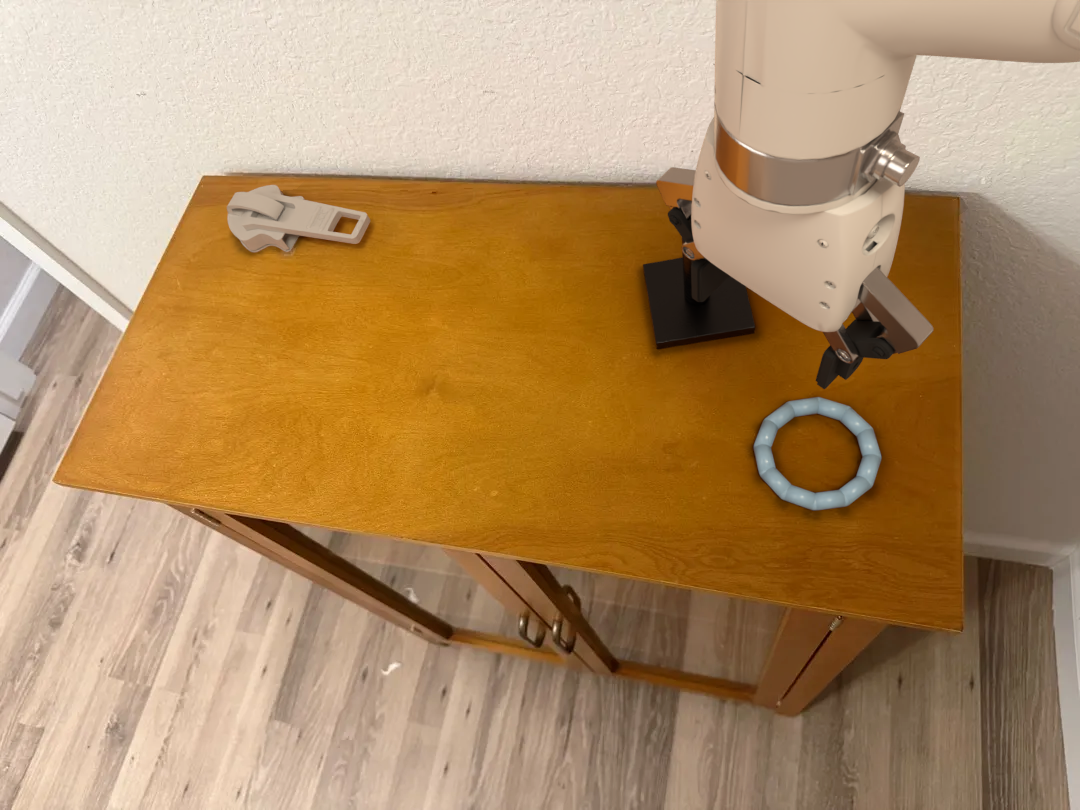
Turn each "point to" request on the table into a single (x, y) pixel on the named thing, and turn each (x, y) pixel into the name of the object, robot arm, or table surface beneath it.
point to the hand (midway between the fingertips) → (771, 326)
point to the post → (693, 306)
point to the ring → (805, 497)
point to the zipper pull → (286, 219)
